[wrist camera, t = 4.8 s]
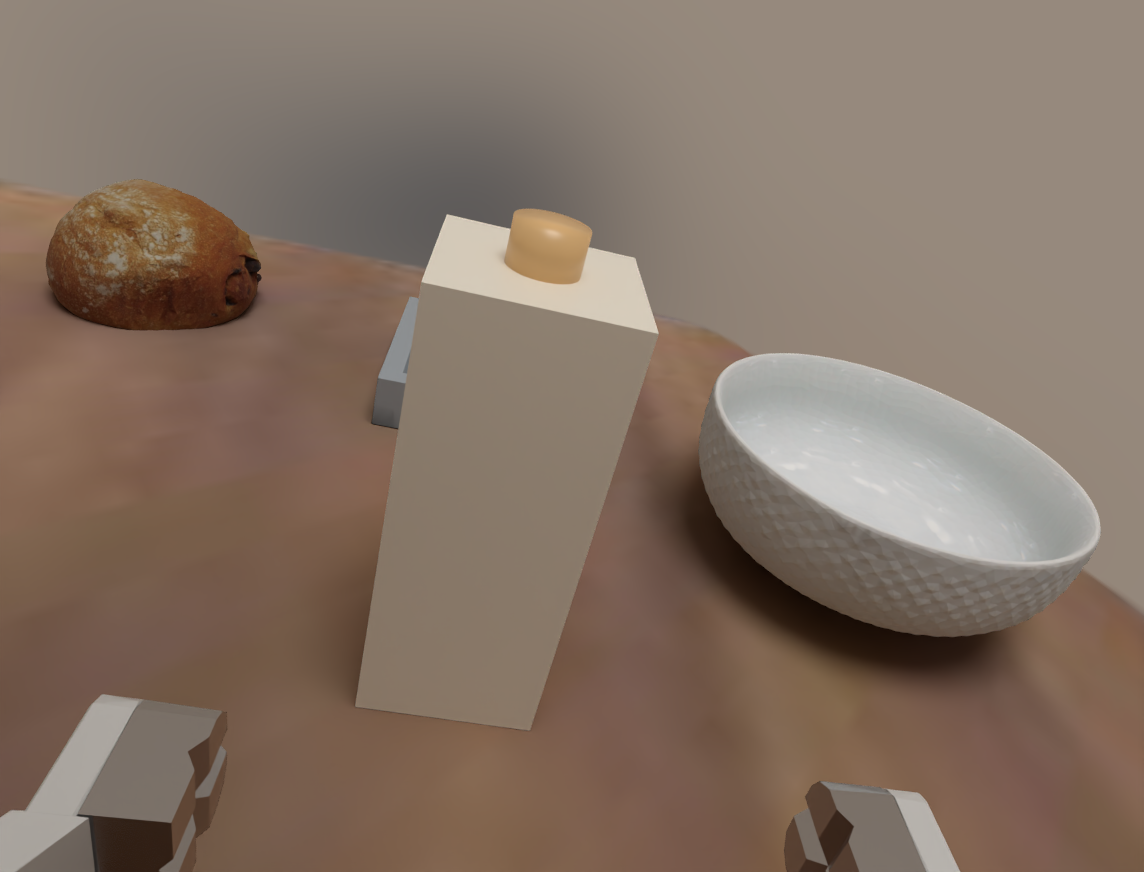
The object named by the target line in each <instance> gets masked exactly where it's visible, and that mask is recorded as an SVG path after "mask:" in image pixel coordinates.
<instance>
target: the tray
mask: <svg viewBox="0 0 1144 872" xmlns="http://www.w3.org/2000/svg"><path fill="white" fill-rule="evenodd" d="M418 301H419V298H414V297H410V298H409V301H408V303H407V306H406V308H405V311H404V313H403V316H402V318H401V321H400V323H399V326H398V328H397V331H396V333H395V336H394V339H393V341H392V344H391V346H390V349H389V351H388V354H387V356H386V359H385V361H384V364H383V366H382V369H381V371H380V374H379V376H378V381H377V388H376V396H375V403H374V410H373V418H372V424H377V425H383V426H388V427H393V428H398V429H399V422H400V416H401V409H402V403H403V397H404V390H405V384H406V377H407V371H408V365H409V358H410V352H411V346H412V339H413V333H414V326H415V320H416V314H417V307H418Z"/></svg>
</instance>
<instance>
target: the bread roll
mask: <svg viewBox="0 0 1144 872" xmlns="http://www.w3.org/2000/svg"><path fill="white" fill-rule="evenodd" d="M46 269H47V275H48V278H49V281H48V282H49V285H50V287H51V288H52V291H53V292H54V294H55V295H56V297H57V300H58V301H59V302H60V303H61V304H62V305H63V306H64V307H65V308H67V309H68V310H69V311H70V312H71V313H73V314H75V315H77V316H79V317H81V318H83V319H86V320H89V321H92V322H96V323H100V324H104V325H108V326H112V327H117V328H123V329H130V330H164V329H165V330H179V329H198V328H206V327H210V326H214V325H218V324H221V323H224V322H227V321H230V320H233V319H235V318H237V317H238V316H239V315H241V314H242V313H243V312H244V311H245V310H246V309H247V307H248V306H249V305H250V303H251V301H252V300H253V298H254V297H255V295H256V292H257V287H258V286H257V285H258V282H259V281H260V280H261V275H260V274H257V272H258V271H259V270H260V269H261V263H260V262H259V260H258V258H257V253H256V252H255V251H254V248H253V246H252V244H251V242H250V240H249V235H248V234H247V233H246V232H244V231H242V230H241V229H239V228H238V227H237V226H236V225H235V224H234V223H233V221H232V220H231V219H229V218H228V217H226V216H225V215H224V214H222V213H221V212H219V211H217V210H216V209H214V208H212V207H210V206H209V205H207V204H206V203H204V202H203V201H201V200H199V199H198V198H196V197H194V196H191V195H187V194H185V193H182V192H180V191H178V190H176V189H173V188H168V187H165V186H162V185H159V184H157V183H154V182H149V181H146V180H142V179H134V180H125V181H121V182H116V183H114V184H111V185H107V186H105V187H103V188H100V189H98V190H95V191H92V192H90V193H89V194H88V195H86V196H85V197H83V198H82V199H81V200H80V201H79V202H78V203H77V204H76V205H75V206H74V208H73V209H72V210H71V211H69V212H68V213H67V214H66V215H65V216H64V217H63V218H62V219H61V220H60V222H59V223H58V225H57V227H56V230H55V233H54V236H53V237H52V239H51V242H50V245H49V249H48V253H47V258H46Z"/></svg>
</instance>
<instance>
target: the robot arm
mask: <svg viewBox="0 0 1144 872" xmlns="http://www.w3.org/2000/svg"><path fill="white" fill-rule="evenodd" d="M226 731H227V712H224V711H218V710H211V709H204V708H198V707H191V706H184V705H177V704H170V703H164V702H157V701H150V700H143V699H135V698H127V697H120V696H112V695H104V694H102V695H101V696H100V697H99V698H98V699H97V700H96V701H94V702H93V703H92V704H91V705H90V707H89V708H88V710H87V712H86V713H85V715H84V716H83V718H82V720H81V721H80V723H79V724H78V726H77V728H76V729H75V731H74V732H73V734H72V736H71V737H70V739H69V741H68V742H67V744H66V745H65V747H64V749H63V750H62V752H61V753H60V755H59V757H58V758H57V760H56V761H55V763H54V765H53V766H52V768H51V770H50V771H49V773H48V774H47V776H46V778H45V779H44V781H43V782H42V784H41V786H40V787H39V789H38V790H37V792H36V794H35V795H34V797H33V799H32V800H31V802H30V803H29V805H28V807H27V808H26V810H25V811H23V810H10V811H9V812H7V813H6V814H4V815H3V816H1V817H0V872H192V871H193V868H194V866H195V863H196V838H197V837H198V836H199V835H201V834H202V833H203V832H204V831H206V830H207V829H208V828H209V827H210V824H211V822H212V819H213V816H214V814H215V811H216V808H217V806H218V802H219V798H220V795H221V791H222V787H223V784H224V778H225V772H226V765H227V752H226V751H225V750H224V749H223V747H222V746H221V743H222V741H223V738H224V736H225V733H226ZM805 798H806V801H807V804H808V807H809V808H808V809H806V810H804V811H802V812H800V813H799V814H797V815H795V816H794V817H793V819H792V821H791V823H790V825H789V827H788V829H787V831H786V839H785V847H784V855H785V865H786V870H787V872H960V870H959V868H958V866H957V864H956V862H955V860H954V858H953V856H952V854H951V852H950V849H949V847H948V845H947V843H946V841H945V839H944V837H943V835H942V833H941V831H940V828H939V826H938V824H937V822H936V820H935V818H934V816H933V814H932V812H931V810H930V807H929V805H928V803H927V802H926V800H925V799H924V798H923V797H922V796H921V795H920V794H919V793H915V792H908V791H899V790H890V789H882V788H880V787H871V786H862V785H852V784H843V783H833V782H823V781H819V782H817V783H815V784H813V785H812V786H811V788H810V789H809V791H808V793H807V794H806V796H805Z"/></svg>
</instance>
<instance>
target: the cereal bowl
mask: <svg viewBox="0 0 1144 872" xmlns="http://www.w3.org/2000/svg"><path fill="white" fill-rule="evenodd" d="M699 438H700V440H699V449H698V454H699V457H700V458H699V465H700V468H701V478H702V480H703V482H704V485H705V491H706V492H707V494H708V496H709V499H710V503H711V504H712V505H713V507H714V509H715V512H716V515H717V517H719V518H720V519H721V521H722V523H723V526H724V527H725V528H726V529H727V530H728V531H729V532H730V534H731V535H732V537H733V539H734V540H735V541H736V542H738V543H739V544H740V545H741V546H742V548H743V549H744V550H745V551H746V552H747V553H748V554H750V555H751V557H752V558H753V559H754V560H755V561H756V562H757V563H759V564H761V565H762V566H763V567H764V568H766V569H767V570H768V571H769V572H771V573H772V574H773V575H774V576H776V577H777V578H778V579H780V580H782V581H783V582H784V583H785V584H787V585H789V586H790V587H792V588H793V589H795V590H797V591H799V592H800V593H801V594H802V595H805V596H808V597H809V598H811V599H812V600H814V601H817V602H818V603H820V604H821V605H824V606H827V607H828V608H830V609H833V610H835V611H838V612H839V613H841V614H845V615H848V616H849V617H852V618H854V619H857V620H860V621H862V622H865V623H870V624H873V625H875V626H879V627H881V628H888V629H891V630H894V631H899V632H904V633H911V634H914V635H929V636H935V637H942V636H947V637H957V636H971V635H975V634H986V633H988V632H992V631H1001V630H1003V629H1005V628H1007V627H1010V626H1015V625H1017V624H1019V623H1020V622H1022V621H1026V620H1029V619H1030V618H1031V617H1032V616H1034V615H1035V614H1037V613H1039V612H1041V611H1043V610H1044V609H1045V607H1046V606H1047V605H1049V604H1051V603H1053V602H1054V601H1055V600H1056V599H1057V597H1058V596H1059V595H1060V594H1062V593H1064V592H1065V591H1066V589H1067V587H1069V585H1070V583H1071V582H1072V581H1073V580H1075V579H1076V577H1077V575H1078V574H1079V573H1080V572H1081V570H1082V568H1083V566H1084V565H1085V564H1086V563H1087V562H1088V561H1089V559H1090V557H1091V555H1092V554H1093V552H1094V550H1095V549H1096V547H1097V544H1098V541H1099V538H1100V533H1101V530H1100V521H1099V516H1098V513H1097V511H1096V509H1095V507H1094V505H1093V503H1092V501H1091V500H1090V498H1089V497H1088V495H1087V493H1086V492H1085V491H1084V490H1083V488H1082V487H1081V486H1080V485H1079V484H1078V483H1077V482H1076V481H1075V480H1074V479H1073V478H1072V477H1071V476H1070V474H1069V473H1067V472H1066V471H1065V470H1064V469H1063V468H1062V467H1061V466H1060V465H1059V464H1057V462H1055V461H1054V460H1053V459H1052V458H1050V457H1049V456H1048V455H1047V454H1045V453H1044V452H1043V451H1042V450H1040V449H1039V448H1037V447H1036V446H1035V445H1033V444H1032V443H1030V442H1029V441H1027V440H1026V439H1024V438H1023V437H1022V436H1020V435H1019V434H1017V433H1016V432H1014V431H1012V430H1011V429H1009V428H1007V427H1006V426H1004V425H1002V424H1001V423H999V422H997V421H995V420H994V419H992V418H990V417H988V416H986V415H985V414H983V413H981V412H979V411H977V410H975V409H973V408H971V407H969V406H967V405H965V404H963V403H961V402H959V401H957V400H955V399H953V398H951V397H949V396H947V395H944V394H942V393H940V392H937V391H935V390H933V389H930V388H928V387H926V386H923V385H921V384H918V383H915V382H913V381H910V380H907V379H905V378H902V377H899V376H896V375H893V374H890V373H887V372H884V371H881V370H877V369H874V368H871V367H867V366H863V365H860V364H856V363H852V362H847V361H843V360H837V359H832V358H827V357H822V356H815V355H806V354H792V353H791V354H790V353H777V354H775V353H774V354H762V355H756V356H751V357H747V358H744V359H741V360H738V361H737V362H735V363H733V364H731V365H730V366H728V367H727V368H726V369H725V370H724V371H723V372H722V373H721V374H720V375H719V377H718V378H717V380H716V382H715V385H714V387H713V389H712V393H711V395H710V398H709V403H708V405H707V407H706V410H705V415H704V419H703V422H702V425H701V433H700V437H699Z"/></svg>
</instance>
